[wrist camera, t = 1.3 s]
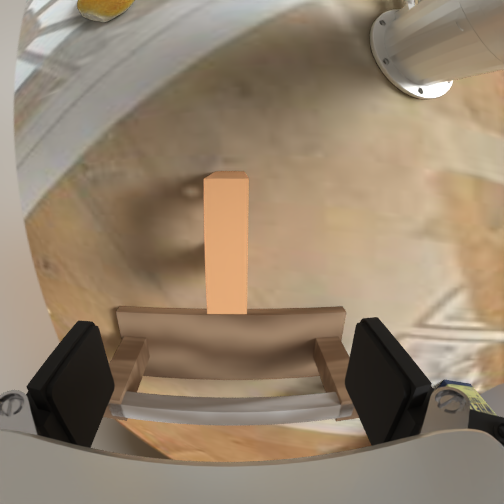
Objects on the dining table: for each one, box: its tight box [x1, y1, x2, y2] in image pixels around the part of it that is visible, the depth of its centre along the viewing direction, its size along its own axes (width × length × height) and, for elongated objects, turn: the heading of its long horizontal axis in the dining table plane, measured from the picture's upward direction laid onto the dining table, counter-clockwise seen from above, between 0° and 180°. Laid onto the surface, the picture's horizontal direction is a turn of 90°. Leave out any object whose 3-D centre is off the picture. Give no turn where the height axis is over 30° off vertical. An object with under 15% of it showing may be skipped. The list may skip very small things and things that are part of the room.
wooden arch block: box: [204, 171, 249, 314], centre depth 27 cm, size 10×3×12 cm, turn 179°
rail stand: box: [103, 306, 359, 425], centre depth 31 cm, size 10×28×13 cm, turn 89°
